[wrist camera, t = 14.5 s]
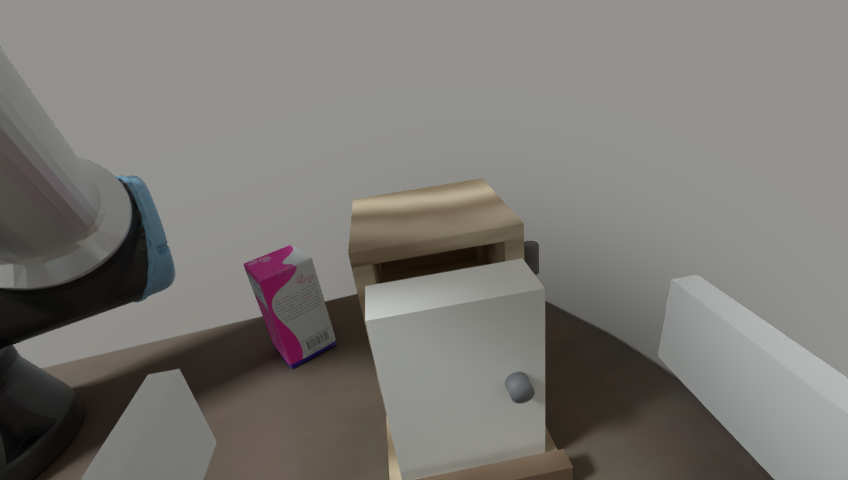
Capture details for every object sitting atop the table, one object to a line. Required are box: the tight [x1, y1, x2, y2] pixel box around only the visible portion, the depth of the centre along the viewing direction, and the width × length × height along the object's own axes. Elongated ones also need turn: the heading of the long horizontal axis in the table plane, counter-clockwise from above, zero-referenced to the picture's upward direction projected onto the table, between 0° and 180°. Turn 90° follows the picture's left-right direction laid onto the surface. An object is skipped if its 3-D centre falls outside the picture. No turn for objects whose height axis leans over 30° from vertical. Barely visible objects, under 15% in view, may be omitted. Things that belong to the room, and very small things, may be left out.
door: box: [365, 258, 545, 480], centre depth 29 cm, size 5×11×15 cm, turn 97°
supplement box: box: [244, 245, 337, 369], centre depth 46 cm, size 6×6×12 cm
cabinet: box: [349, 179, 573, 480], centre depth 35 cm, size 21×14×17 cm
